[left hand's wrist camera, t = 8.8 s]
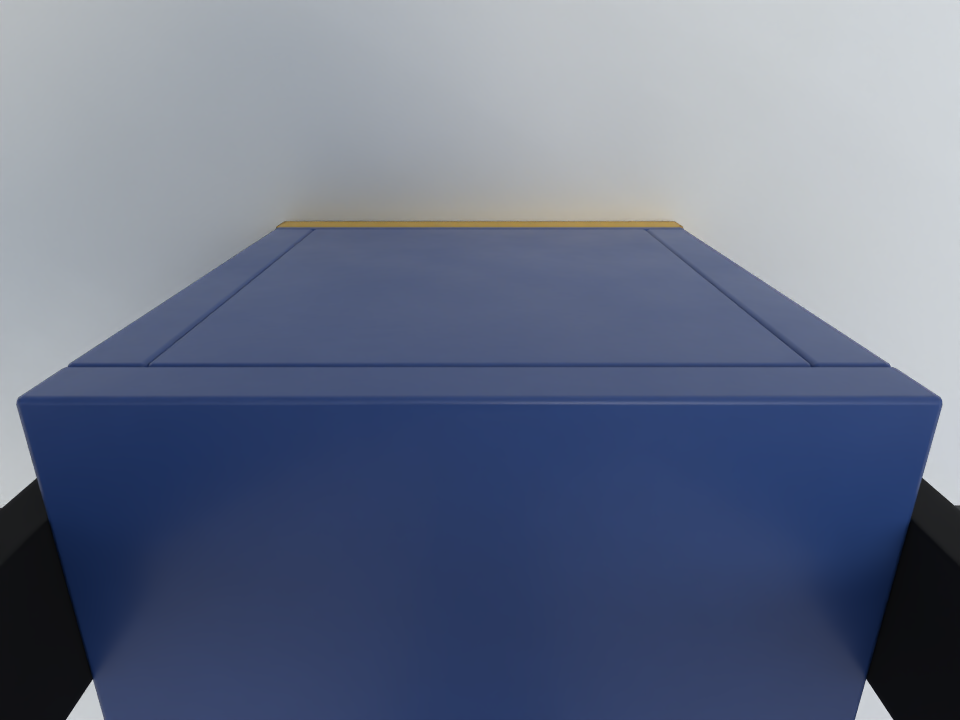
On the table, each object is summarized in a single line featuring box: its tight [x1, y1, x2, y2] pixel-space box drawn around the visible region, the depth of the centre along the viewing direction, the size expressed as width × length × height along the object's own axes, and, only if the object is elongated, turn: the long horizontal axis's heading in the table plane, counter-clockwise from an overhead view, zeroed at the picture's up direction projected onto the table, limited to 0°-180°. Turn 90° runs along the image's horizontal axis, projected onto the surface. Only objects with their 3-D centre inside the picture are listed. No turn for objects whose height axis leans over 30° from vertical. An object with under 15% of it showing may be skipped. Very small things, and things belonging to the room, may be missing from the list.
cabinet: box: [17, 221, 942, 720], centre depth 17 cm, size 19×11×12 cm, turn 0°
